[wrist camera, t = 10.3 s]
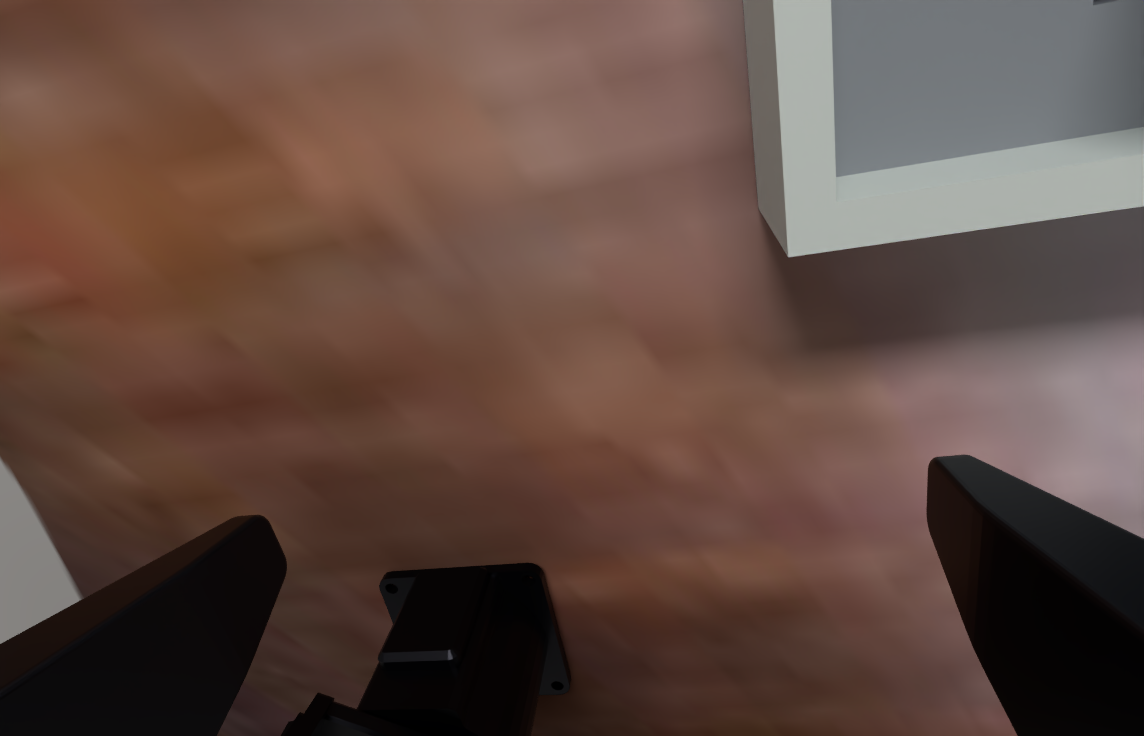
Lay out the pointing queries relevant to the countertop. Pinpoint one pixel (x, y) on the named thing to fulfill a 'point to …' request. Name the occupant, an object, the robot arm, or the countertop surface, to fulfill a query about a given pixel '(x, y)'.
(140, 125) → the countertop surface
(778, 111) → the box
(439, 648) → the robot arm
